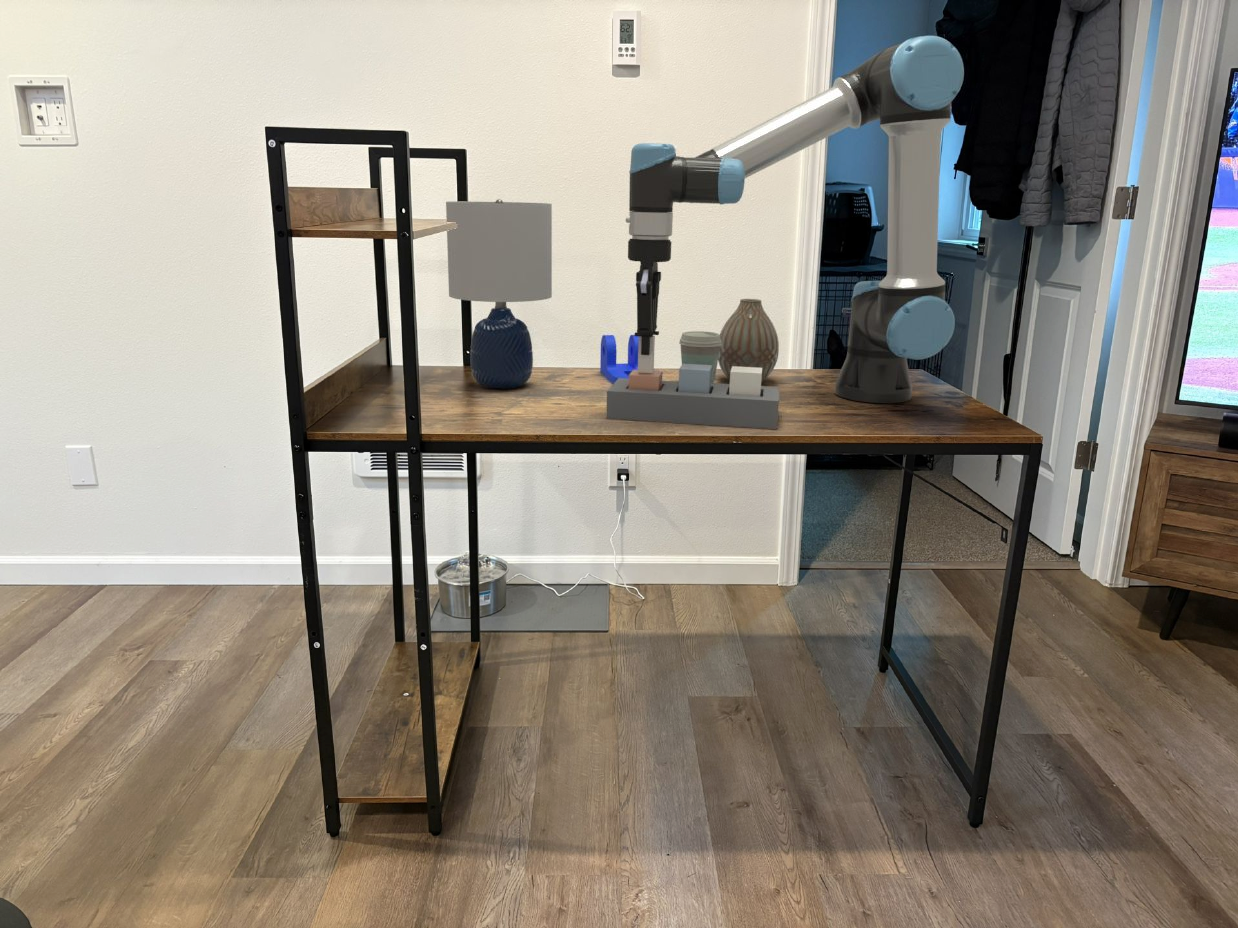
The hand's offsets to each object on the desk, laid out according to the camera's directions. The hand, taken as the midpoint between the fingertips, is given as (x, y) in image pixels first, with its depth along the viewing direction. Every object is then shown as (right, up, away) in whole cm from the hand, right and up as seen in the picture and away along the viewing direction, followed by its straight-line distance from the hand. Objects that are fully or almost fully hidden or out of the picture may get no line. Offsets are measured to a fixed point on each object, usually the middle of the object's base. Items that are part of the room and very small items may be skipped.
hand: (645, 371), depth 164 cm
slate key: (+9, -4, -1) cm, 10 cm away
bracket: (-3, +1, +31) cm, 31 cm away
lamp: (-29, -1, +22) cm, 37 cm away
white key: (+18, -4, -2) cm, 18 cm away
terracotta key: (0, -4, +1) cm, 5 cm away
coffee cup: (+11, -2, +20) cm, 23 cm away
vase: (+23, +1, +33) cm, 40 cm away
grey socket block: (+9, -8, +1) cm, 12 cm away
